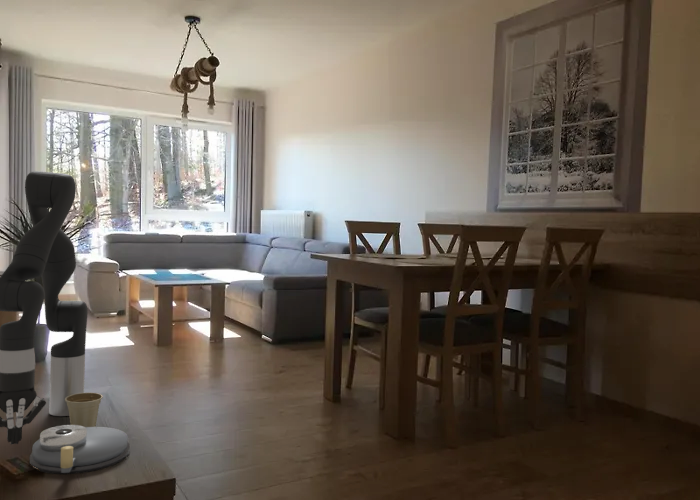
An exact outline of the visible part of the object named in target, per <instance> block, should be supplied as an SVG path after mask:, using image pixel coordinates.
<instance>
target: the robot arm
mask: <svg viewBox="0 0 700 500" xmlns="http://www.w3.org/2000/svg"><path fill="white" fill-rule="evenodd" d="M76 190H77V186H76V180H75V179H74V177H73V175H70V174H68V173H67V174H66V173H61V172H51V171H36V170H34V171H30V172H29V173H28V174H27V175H26V177H25V182H24V193H25V200H26V203H27V207H28V210H29V211H28V212H29V214H30V215H29V216H30V219H31V223H32V227H31V228H29V229H28V230H27V231H26V232H25V233H24V234H23V235H22V236H21V238H20V240H19V241H18V243H17V245H16V248H15V251H14V254H13V257H12V260H11V262H10V263H9V265H8V266H7V267H6V269H5V271H3V272H2V274H1V276H0V312H21V313H22V315H21V317H20V319H19V320H13V321H9V322H8V321H7V322H5V323H3V324H0V325H1V326H0V410H1V411H2V412H3V413H5V415H6V419H4V418H2V416H0V428H6V433H7V434H6V440H7V443H10V445H18V444H19V442H20V441H21V440H22V439H23V438H22V437H23V427H24V426H26V425H28V424H31V423H32V421H33V420H34V419H36V416H37V415H38V414H39V413H40V412H41V411H42V409H43V408H44V407H45V405H46V404H47V402H46V399H45V398H43V397H40V396H38V394H37V392H36V390H35V377H36V376H35V374H36V354H35V353H36V352H35V338H36V337H35V335H36V334H35V332H36V327H37V323H38V318H39V315H40V313H41V309H42V307H43V304H44V316H45V323H46V327H47V330H49V331H50V332H55V333H72V337H70V338H68V339H67V340H64V341H61V342H57V343H55V344H53V345H52V346H51V348H50V374H49V377H50V378H49V400H48V401H49V406H48V414H49V415H51V416H54V417H66V416H67V417H68V416H69V409H68V406H67V402H66V401H65V398H66V397H68V396H70V395H73V394H78V393H85V376H86V375H85V372H86V371H85V369H86V367H85V366H86V364H85V362H86V341H87V339H86V338H87V324H88V314H89V312H88V306H87V303H86V302H85V301H82V300H60V299H59V295H60V293H61V291H62V289H64V286H65V285H66V284H67V283H68V282H69V280H70V279H71V277H72V276H73V274H74V272H75V270H76V267H77V258H76V252H75V251H76V250H75V246H74V243H73V241H72V240H71V239H70V237H69V236H68V235H67V234H66V232H64V230H63V229H62V226H63V225H64V224H65V223H64V222H65V221H66V219H67V217H68V214H69V212H70V211H71V209H72V206H73V204H74V201H75V199H76V198H75V197H76V193H77V192H76ZM49 209H50V210H49ZM40 277H41V281H42V282H41V283H42V284H40V282H38V281H35V280H34V279H37V278H40ZM32 404H33V407H32V408H31V409H30V410H29V412H28V413H27V414H26V415H25V411H27V410H28V408H29V407H30V406H31V405H32ZM14 413H16V415H15V421H14ZM24 415H25V416H24ZM14 422H15V423H14Z"/></svg>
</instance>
